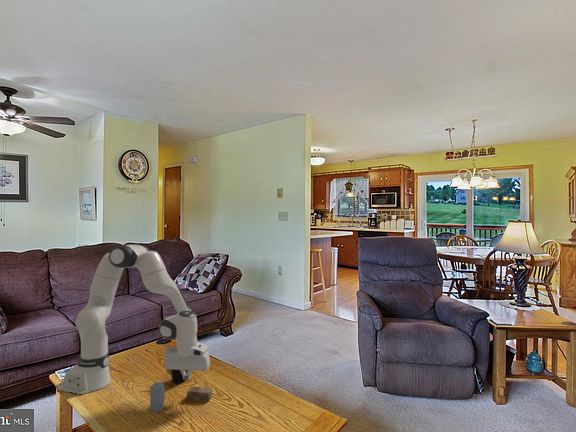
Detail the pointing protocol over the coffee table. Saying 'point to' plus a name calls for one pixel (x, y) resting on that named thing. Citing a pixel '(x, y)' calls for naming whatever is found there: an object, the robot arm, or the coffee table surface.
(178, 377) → the coffee mug
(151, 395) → the slate block
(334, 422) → the coffee table surface
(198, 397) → the walnut block
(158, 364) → the coffee table surface
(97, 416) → the coffee table surface
